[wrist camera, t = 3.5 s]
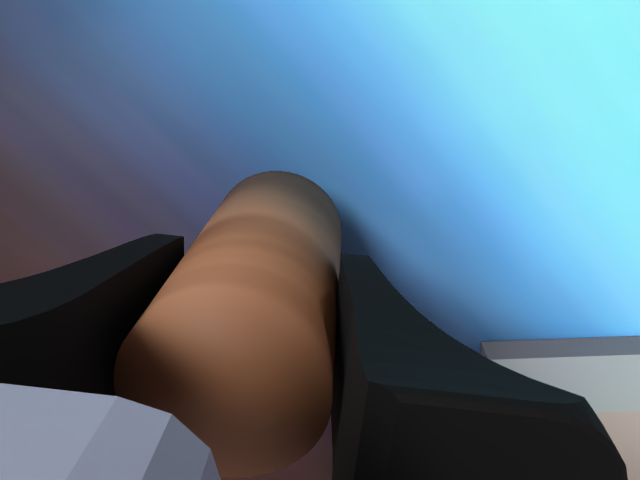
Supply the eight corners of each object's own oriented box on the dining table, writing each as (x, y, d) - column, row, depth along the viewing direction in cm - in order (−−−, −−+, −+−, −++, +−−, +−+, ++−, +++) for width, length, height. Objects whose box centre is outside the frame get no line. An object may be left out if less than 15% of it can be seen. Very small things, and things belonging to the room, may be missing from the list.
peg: (345, 284, 15) (339, 476, 9) (227, 289, 16) (139, 479, 9) (337, 166, 14) (322, 292, 8) (207, 175, 14) (89, 303, 8)
